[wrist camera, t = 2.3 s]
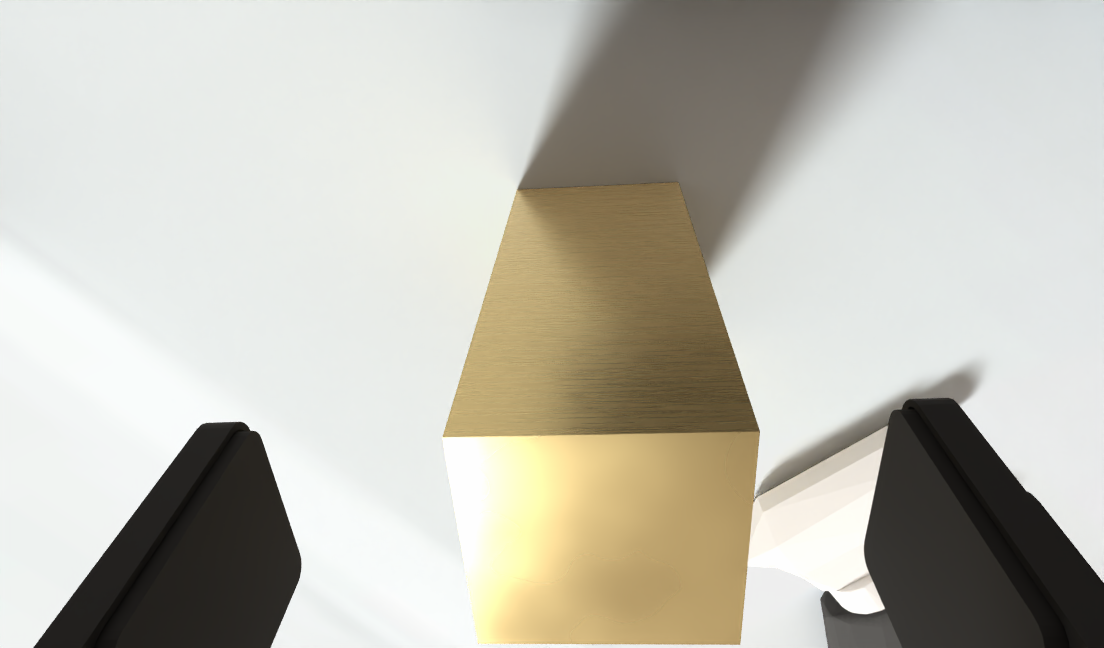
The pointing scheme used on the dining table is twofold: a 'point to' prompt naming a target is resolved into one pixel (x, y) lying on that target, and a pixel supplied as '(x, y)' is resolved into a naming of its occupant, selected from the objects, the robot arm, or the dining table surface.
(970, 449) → the robot arm
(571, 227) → the brass peg
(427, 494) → the dining table surface
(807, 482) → the spray bottle
